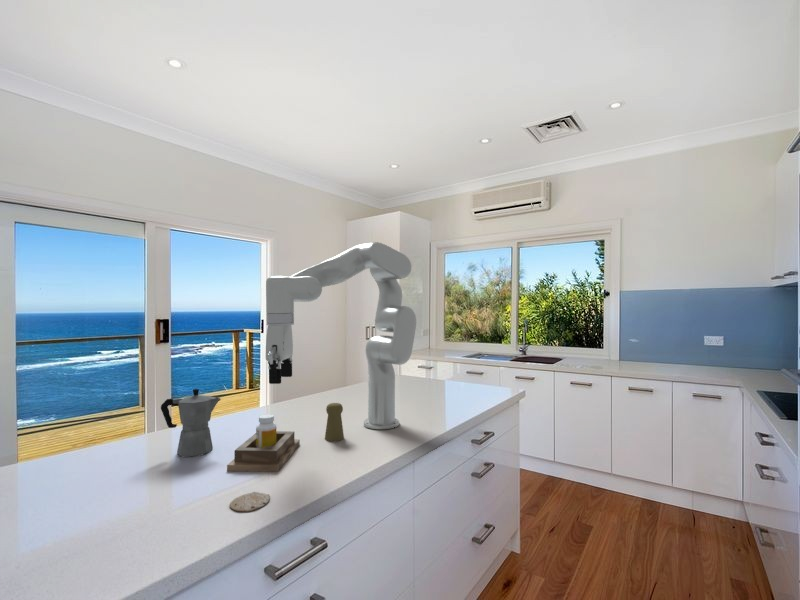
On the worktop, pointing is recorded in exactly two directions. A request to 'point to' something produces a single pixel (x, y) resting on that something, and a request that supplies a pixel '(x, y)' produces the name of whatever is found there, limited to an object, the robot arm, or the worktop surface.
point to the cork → (334, 422)
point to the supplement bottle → (266, 432)
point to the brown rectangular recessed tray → (264, 454)
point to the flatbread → (250, 501)
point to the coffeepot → (192, 422)
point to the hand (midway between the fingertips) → (281, 379)
